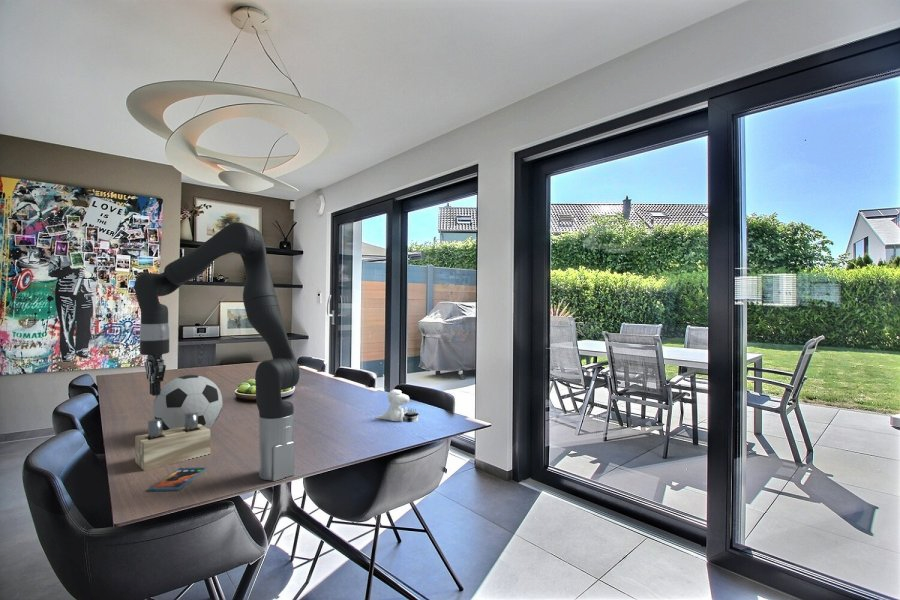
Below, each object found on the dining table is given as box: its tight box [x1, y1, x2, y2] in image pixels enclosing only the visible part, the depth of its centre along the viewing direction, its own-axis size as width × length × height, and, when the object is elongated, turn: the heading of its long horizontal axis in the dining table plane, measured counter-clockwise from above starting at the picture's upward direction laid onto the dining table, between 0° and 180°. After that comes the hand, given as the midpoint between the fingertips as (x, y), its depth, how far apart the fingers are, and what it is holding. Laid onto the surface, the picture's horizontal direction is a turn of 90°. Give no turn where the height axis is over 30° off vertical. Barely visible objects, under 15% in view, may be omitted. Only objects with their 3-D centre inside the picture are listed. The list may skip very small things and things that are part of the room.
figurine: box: [376, 389, 420, 423], centre depth 181 cm, size 8×18×12 cm, turn 81°
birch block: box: [134, 424, 211, 472], centre depth 137 cm, size 10×18×8 cm, turn 138°
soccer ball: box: [152, 374, 223, 431], centre depth 160 cm, size 22×22×22 cm
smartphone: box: [147, 467, 208, 492], centre depth 122 cm, size 8×1×15 cm
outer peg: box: [147, 419, 163, 440], centre depth 134 cm, size 4×4×7 cm
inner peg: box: [185, 413, 198, 432], centre depth 141 cm, size 4×4×7 cm
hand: (155, 394), depth 133 cm, fingers closed
